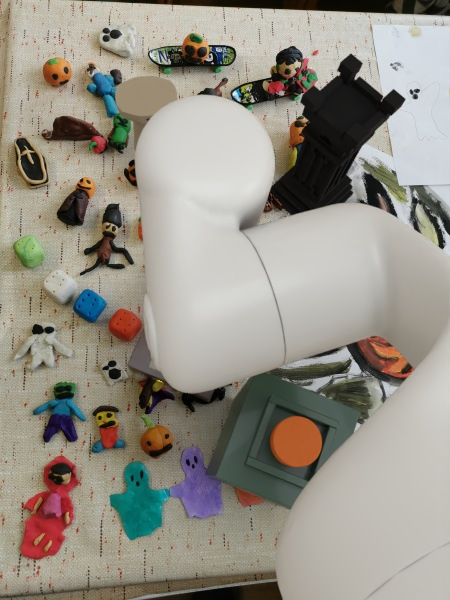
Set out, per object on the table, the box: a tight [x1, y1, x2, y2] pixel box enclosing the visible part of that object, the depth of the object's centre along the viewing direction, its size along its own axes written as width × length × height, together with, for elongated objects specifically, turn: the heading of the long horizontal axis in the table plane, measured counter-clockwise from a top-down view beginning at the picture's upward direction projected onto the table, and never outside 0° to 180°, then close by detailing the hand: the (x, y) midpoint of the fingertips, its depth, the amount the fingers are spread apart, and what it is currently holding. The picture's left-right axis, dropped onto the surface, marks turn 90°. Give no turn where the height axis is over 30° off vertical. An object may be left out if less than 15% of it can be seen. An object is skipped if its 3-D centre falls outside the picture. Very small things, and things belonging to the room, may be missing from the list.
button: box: [270, 416, 322, 467], centre depth 41 cm, size 4×4×2 cm
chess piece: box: [270, 53, 407, 216], centre depth 64 cm, size 8×8×20 cm
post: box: [204, 372, 361, 511], centre depth 53 cm, size 9×9×22 cm
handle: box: [114, 75, 178, 152], centre depth 65 cm, size 5×6×15 cm
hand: (193, 303), depth 56 cm, fingers open, 9 cm apart
